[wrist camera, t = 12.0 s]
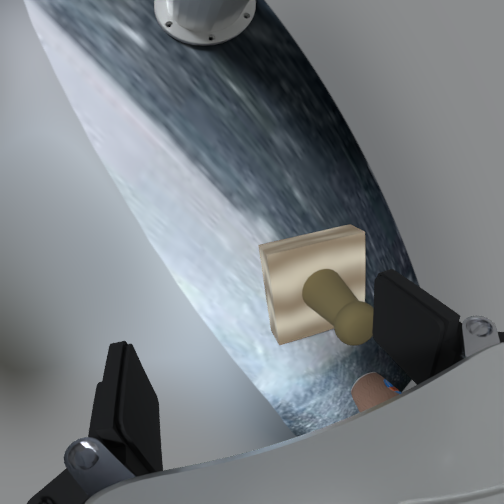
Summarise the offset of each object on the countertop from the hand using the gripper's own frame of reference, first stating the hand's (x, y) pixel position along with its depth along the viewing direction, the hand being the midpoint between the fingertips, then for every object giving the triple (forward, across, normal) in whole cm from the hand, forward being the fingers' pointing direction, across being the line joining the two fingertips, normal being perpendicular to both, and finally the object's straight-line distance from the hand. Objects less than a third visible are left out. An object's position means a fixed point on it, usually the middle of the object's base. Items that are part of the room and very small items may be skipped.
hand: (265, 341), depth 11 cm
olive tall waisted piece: (+26, -14, +15) cm, 33 cm away
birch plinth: (+30, -14, +15) cm, 36 cm away
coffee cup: (+30, -24, +43) cm, 58 cm away
